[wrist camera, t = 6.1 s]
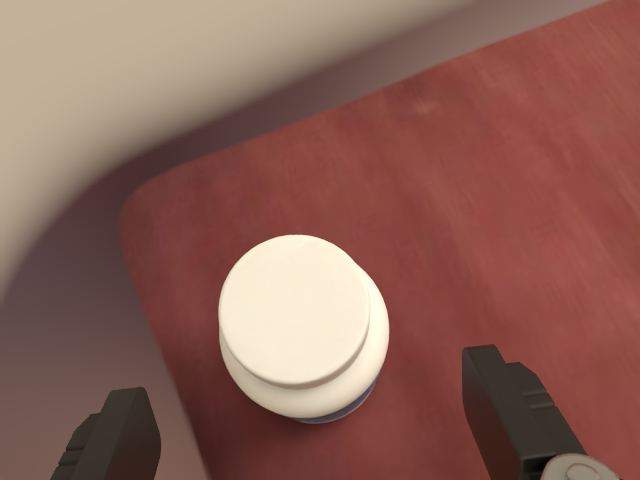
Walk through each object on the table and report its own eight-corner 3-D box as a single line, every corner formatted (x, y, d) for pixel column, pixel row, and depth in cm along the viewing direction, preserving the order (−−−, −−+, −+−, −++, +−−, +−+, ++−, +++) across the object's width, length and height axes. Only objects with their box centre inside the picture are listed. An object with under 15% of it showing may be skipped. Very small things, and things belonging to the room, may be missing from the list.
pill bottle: (401, 328, 22) (432, 264, 14) (344, 448, 21) (340, 455, 13) (290, 272, 23) (257, 182, 15) (227, 383, 22) (153, 349, 14)
